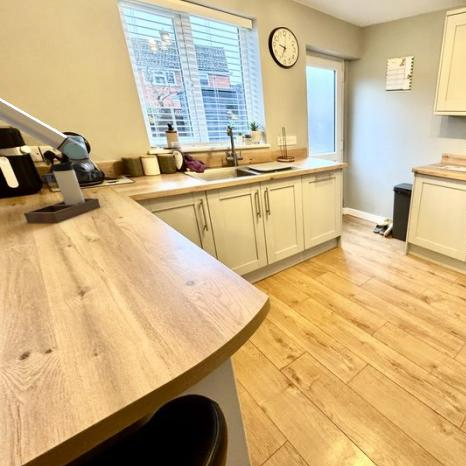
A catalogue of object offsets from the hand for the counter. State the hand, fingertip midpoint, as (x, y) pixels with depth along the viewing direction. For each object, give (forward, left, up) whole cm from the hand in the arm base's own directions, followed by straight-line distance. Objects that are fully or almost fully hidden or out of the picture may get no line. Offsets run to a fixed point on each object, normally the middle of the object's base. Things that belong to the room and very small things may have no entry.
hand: (67, 179), depth 122 cm
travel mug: (+2, -2, -13) cm, 13 cm away
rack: (+2, -8, -14) cm, 16 cm away
